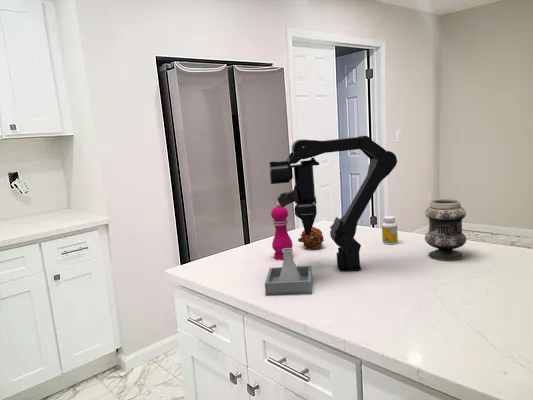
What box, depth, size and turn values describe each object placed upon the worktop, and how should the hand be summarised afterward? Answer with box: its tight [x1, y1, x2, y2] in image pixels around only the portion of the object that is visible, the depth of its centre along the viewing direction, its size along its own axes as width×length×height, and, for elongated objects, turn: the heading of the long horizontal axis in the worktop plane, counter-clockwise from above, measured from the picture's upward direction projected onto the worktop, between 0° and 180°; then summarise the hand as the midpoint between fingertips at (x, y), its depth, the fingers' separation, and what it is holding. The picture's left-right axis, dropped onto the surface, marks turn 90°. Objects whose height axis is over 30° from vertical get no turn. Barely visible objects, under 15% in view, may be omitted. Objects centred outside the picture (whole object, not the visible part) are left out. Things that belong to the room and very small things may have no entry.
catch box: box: [264, 265, 313, 296], centre depth 114 cm, size 13×13×4 cm
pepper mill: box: [270, 201, 293, 261], centre depth 139 cm, size 7×7×20 cm
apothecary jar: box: [424, 198, 467, 261], centre depth 126 cm, size 12×12×18 cm
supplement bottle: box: [381, 215, 399, 246], centre depth 146 cm, size 5×5×10 cm
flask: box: [278, 247, 302, 282], centre depth 113 cm, size 7×7×10 cm
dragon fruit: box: [297, 226, 325, 249], centre depth 150 cm, size 8×8×12 cm
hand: (308, 231), depth 122 cm, fingers open, 9 cm apart
